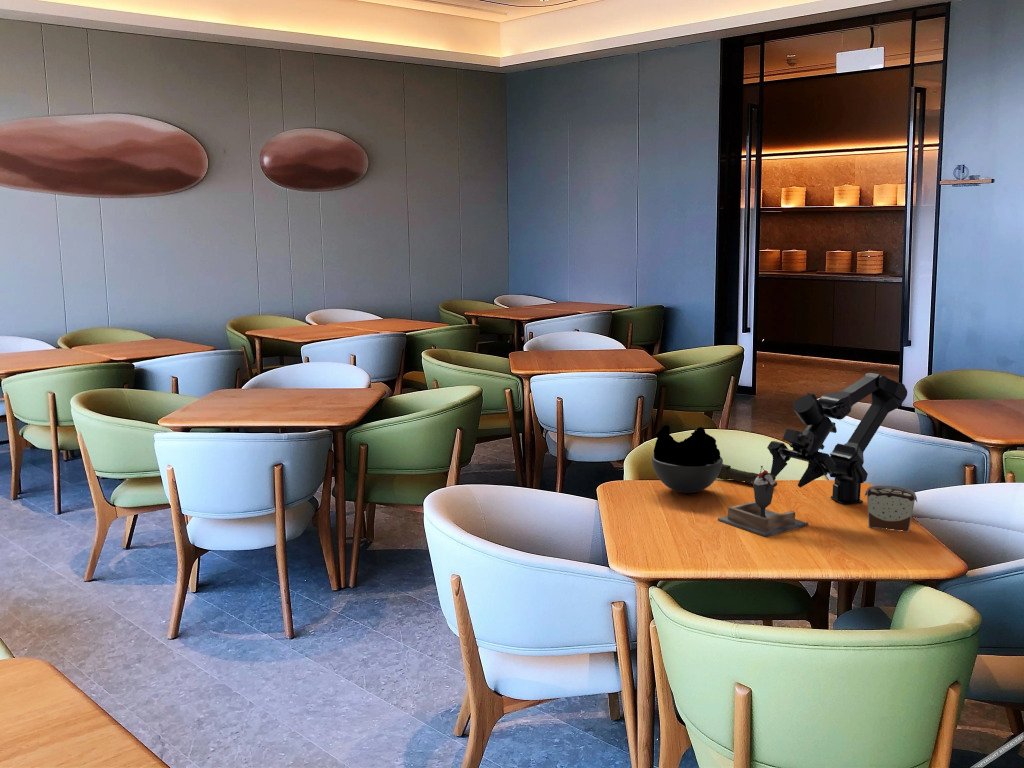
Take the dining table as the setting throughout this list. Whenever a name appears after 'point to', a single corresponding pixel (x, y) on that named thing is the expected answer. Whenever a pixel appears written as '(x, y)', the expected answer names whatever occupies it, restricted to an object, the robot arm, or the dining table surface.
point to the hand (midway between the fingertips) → (784, 482)
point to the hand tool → (736, 474)
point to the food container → (890, 507)
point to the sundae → (764, 490)
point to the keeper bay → (761, 520)
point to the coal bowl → (686, 461)
